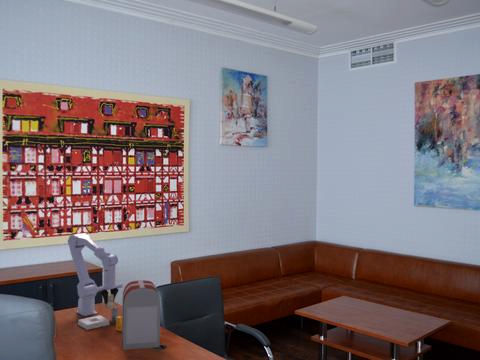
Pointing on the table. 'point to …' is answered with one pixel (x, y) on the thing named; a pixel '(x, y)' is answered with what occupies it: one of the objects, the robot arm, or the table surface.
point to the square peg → (110, 301)
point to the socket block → (93, 322)
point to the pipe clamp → (119, 323)
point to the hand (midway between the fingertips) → (109, 302)
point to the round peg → (114, 315)
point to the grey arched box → (140, 315)
